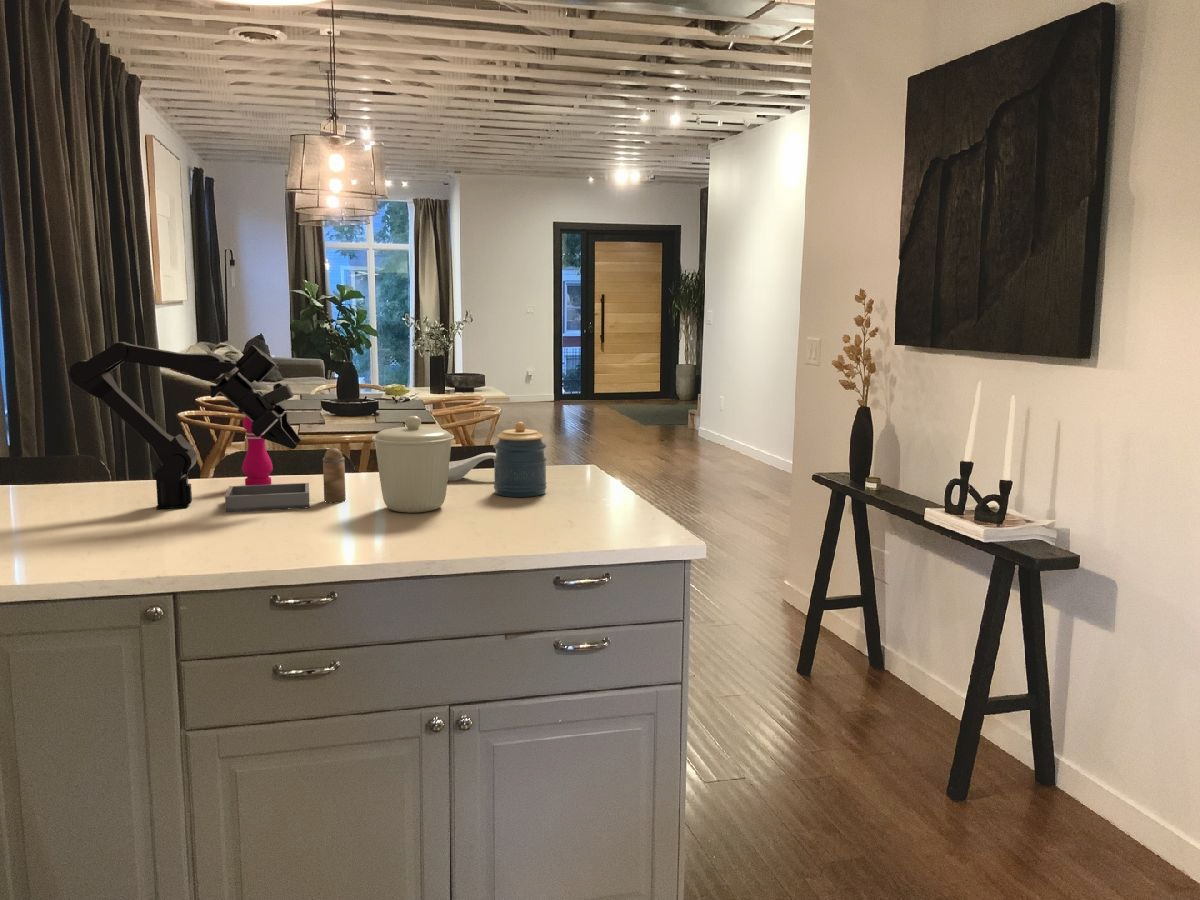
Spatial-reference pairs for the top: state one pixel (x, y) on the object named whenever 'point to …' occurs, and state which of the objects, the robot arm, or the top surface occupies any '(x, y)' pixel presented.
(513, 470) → the canister
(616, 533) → the top surface
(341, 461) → the shaker
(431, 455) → the canister
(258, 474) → the pepper mill
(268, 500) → the dish
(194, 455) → the robot arm
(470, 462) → the spoon rest
